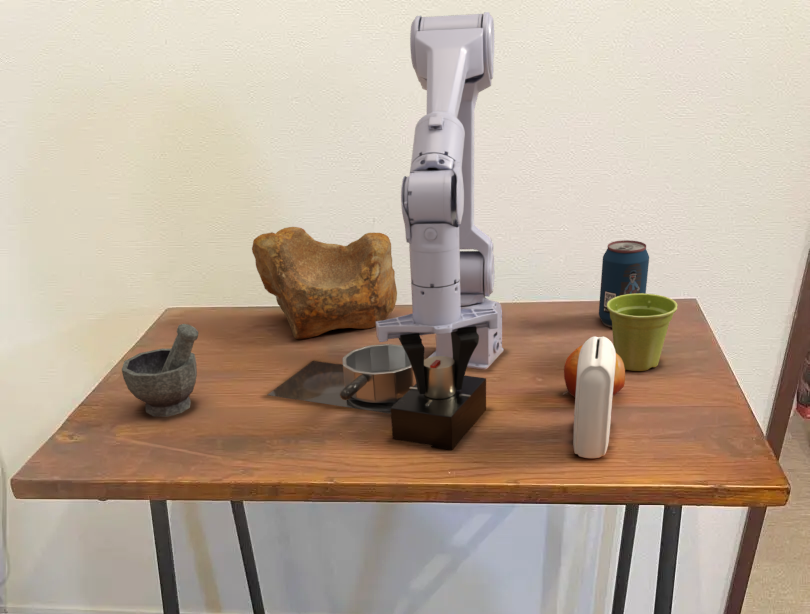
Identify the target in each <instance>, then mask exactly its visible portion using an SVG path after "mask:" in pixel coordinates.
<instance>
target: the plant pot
mask: <svg viewBox="0 0 810 614" xmlns="http://www.w3.org/2000/svg"><path fill="white" fill-rule="evenodd" d="M607 309H608V310H609V311H610V318H611V320H612V327H611V328H612V329H611V330H612V344H613V346H614V348H615V352H616V353H617V354H618V355H619V356H620V357H621V359H622V361H623V363H624V368H625V371H629V372H644V371H648V370H650V369H651V368H657V366H659V363H660V359H661V355H662V351H663V347H664V343H665V339H666V336H667V333H668V330H669V325H670V322H671V321H672V319H673V316H674V314H675V313H676V312H677V310H678V303H677V301H675V300H674V299H672V298H670V297H667V296H666V295H660V294H654V293H646V294H644V293H641V294H640V293H639V294H626V295H621V296H617V297H615V298H613V299H611V300H609V301H608V303H607Z"/></svg>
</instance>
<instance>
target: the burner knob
mask: <svg viewBox="0 0 810 614" xmlns="http://www.w3.org/2000/svg"><path fill="white" fill-rule="evenodd" d="M424 376H425V385H426V394H424V395H425V396H427V397H429V398H434V399H443V398H448V397H451V396H453V395H454V394H455V392H456V388H455V361H454V359H452V358H450V357H446V356H434V357H430V358H428V357H427V358H424Z"/></svg>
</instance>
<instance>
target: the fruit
mask: <svg viewBox="0 0 810 614" xmlns="http://www.w3.org/2000/svg"><path fill="white" fill-rule="evenodd" d="M582 346H583V344H582V345H579V346H578V347H577V348H575V349H574V350H573V351H572V352H571V353H570V354H569V355H568V356H567V358H566V360H565V362H564V366H563V379H564V382H565V388H566V391H564V392H563V393H562V396H565V395H566V394H569V395H571V396H572V397H574V398H575V396H576V381H577V366H578V358H579V354H580V350H581V348H582ZM625 383H626V370H625V368H624V363H623V361H622V359H621V357H620V356H619V355H618V354H617V353H616V364H615V375H614V386H613V397H614V396H615V395H617V393H619V391H621V390H622V389H623V388H624V386H625Z"/></svg>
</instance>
